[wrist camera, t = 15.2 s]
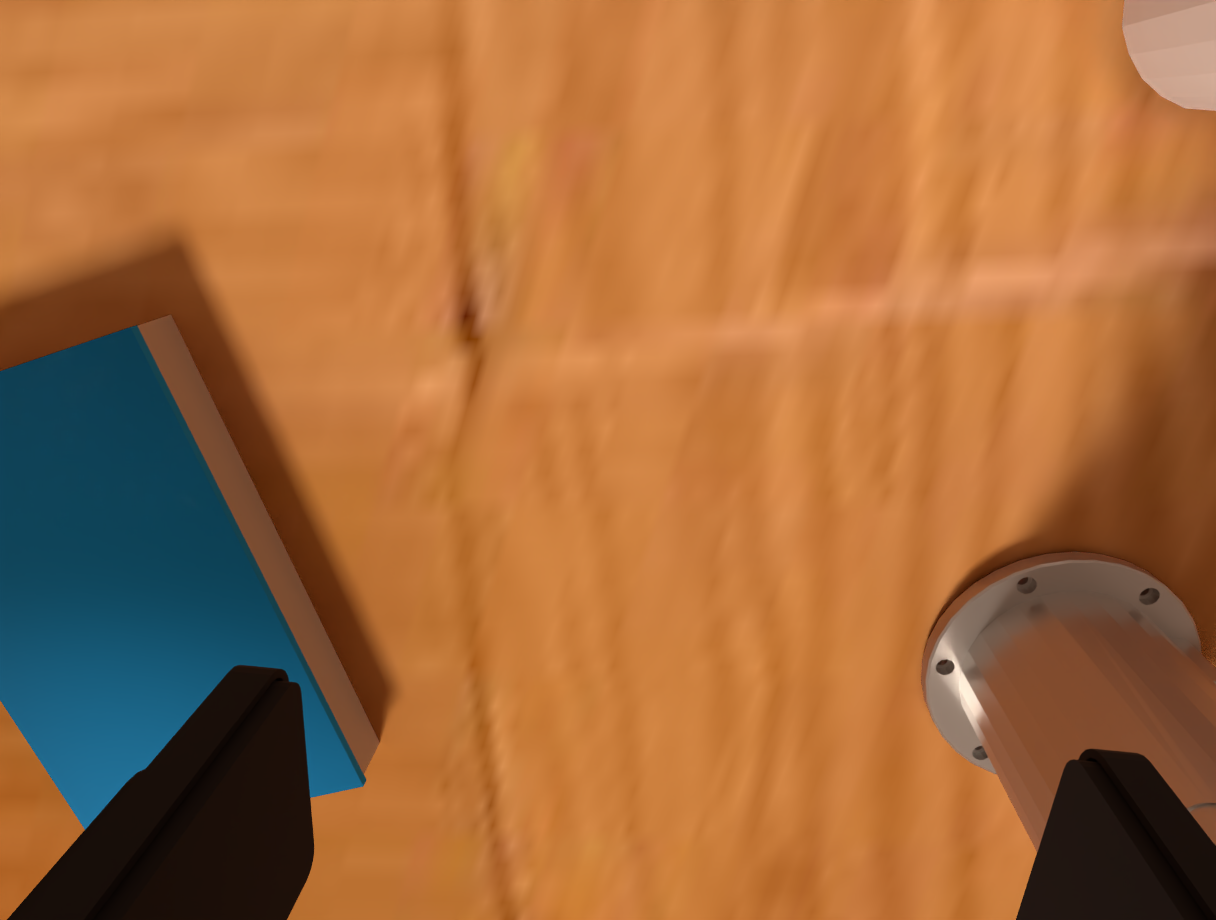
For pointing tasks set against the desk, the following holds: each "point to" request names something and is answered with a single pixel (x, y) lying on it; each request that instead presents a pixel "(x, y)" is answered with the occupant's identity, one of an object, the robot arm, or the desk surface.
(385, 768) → the desk surface
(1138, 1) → the cup
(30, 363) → the book
